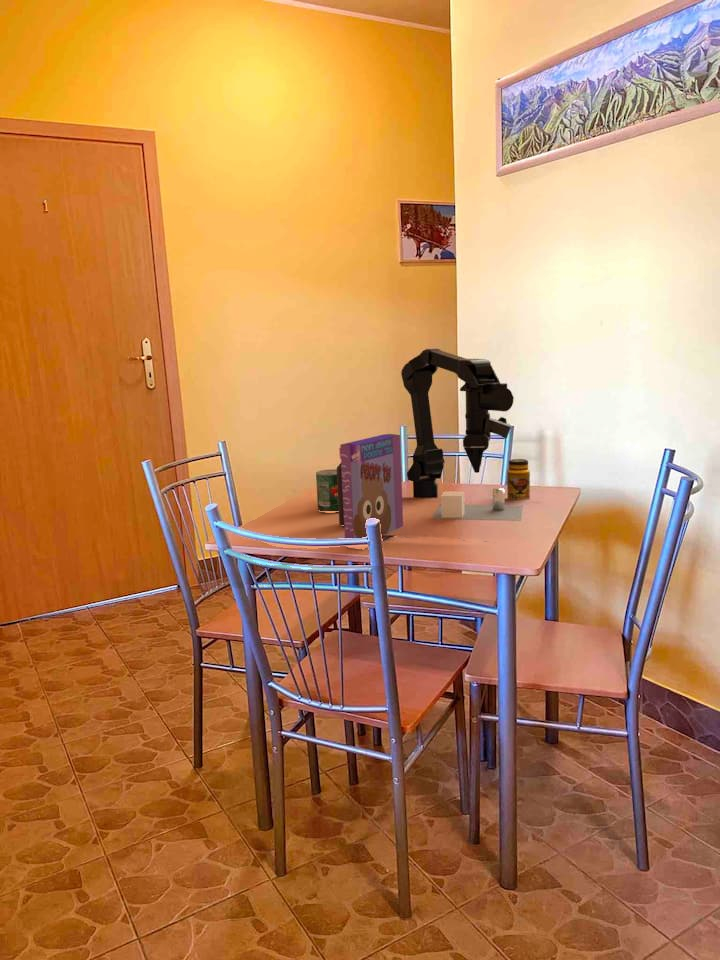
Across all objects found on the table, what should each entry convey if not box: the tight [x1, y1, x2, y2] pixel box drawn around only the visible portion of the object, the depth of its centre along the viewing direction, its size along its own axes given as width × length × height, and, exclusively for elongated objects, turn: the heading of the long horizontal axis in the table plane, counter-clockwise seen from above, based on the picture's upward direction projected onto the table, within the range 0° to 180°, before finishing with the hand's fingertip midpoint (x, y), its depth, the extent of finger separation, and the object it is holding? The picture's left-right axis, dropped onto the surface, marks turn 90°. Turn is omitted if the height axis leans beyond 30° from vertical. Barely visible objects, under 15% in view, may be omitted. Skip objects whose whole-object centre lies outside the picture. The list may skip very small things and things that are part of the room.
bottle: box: [336, 447, 344, 525], centre depth 180 cm, size 7×7×20 cm
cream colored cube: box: [440, 491, 465, 518], centre depth 180 cm, size 5×5×6 cm
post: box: [492, 487, 506, 511], centre depth 184 cm, size 3×3×6 cm
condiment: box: [506, 458, 537, 503], centre depth 198 cm, size 7×8×12 cm
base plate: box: [431, 504, 524, 522], centre depth 183 cm, size 22×16×2 cm
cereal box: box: [339, 433, 404, 542], centre depth 165 cm, size 17×5×24 cm, turn 145°
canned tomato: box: [315, 469, 339, 511], centre depth 198 cm, size 8×8×11 cm
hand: (477, 469), depth 184 cm, fingers open, 9 cm apart
